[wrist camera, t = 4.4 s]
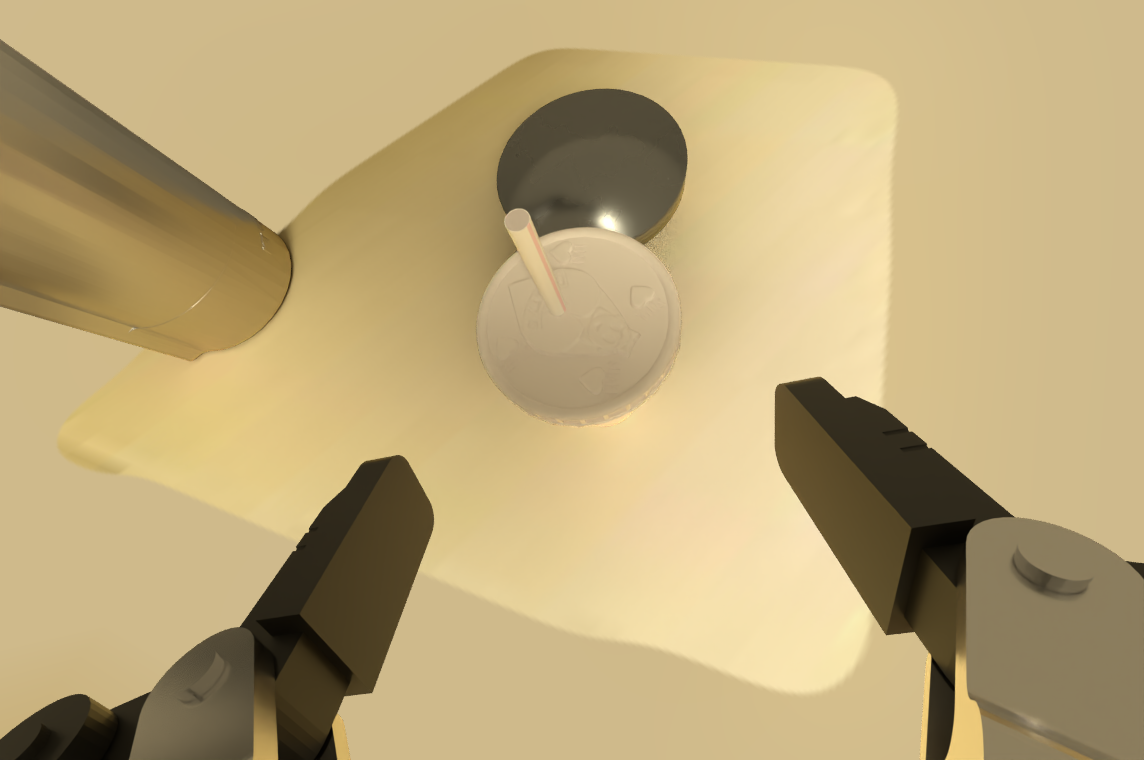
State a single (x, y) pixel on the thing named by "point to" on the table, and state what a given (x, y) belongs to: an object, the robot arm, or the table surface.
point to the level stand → (596, 165)
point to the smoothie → (578, 324)
